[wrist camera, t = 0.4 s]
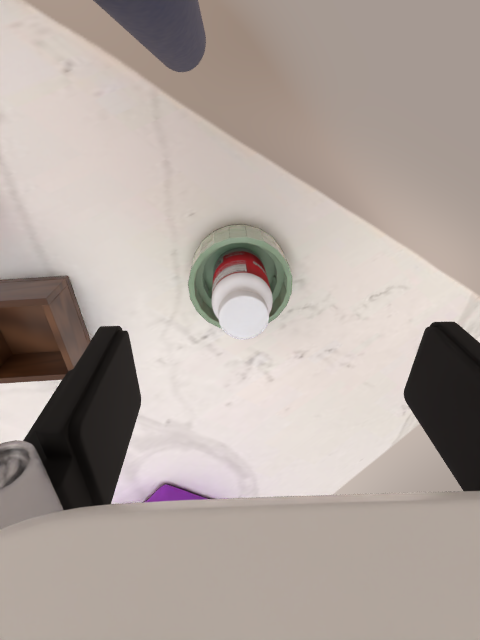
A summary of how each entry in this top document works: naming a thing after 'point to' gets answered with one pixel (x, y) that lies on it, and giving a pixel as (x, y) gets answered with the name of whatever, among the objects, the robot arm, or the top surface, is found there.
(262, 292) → the pill bottle
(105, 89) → the top surface
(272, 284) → the bowl
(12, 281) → the holder
